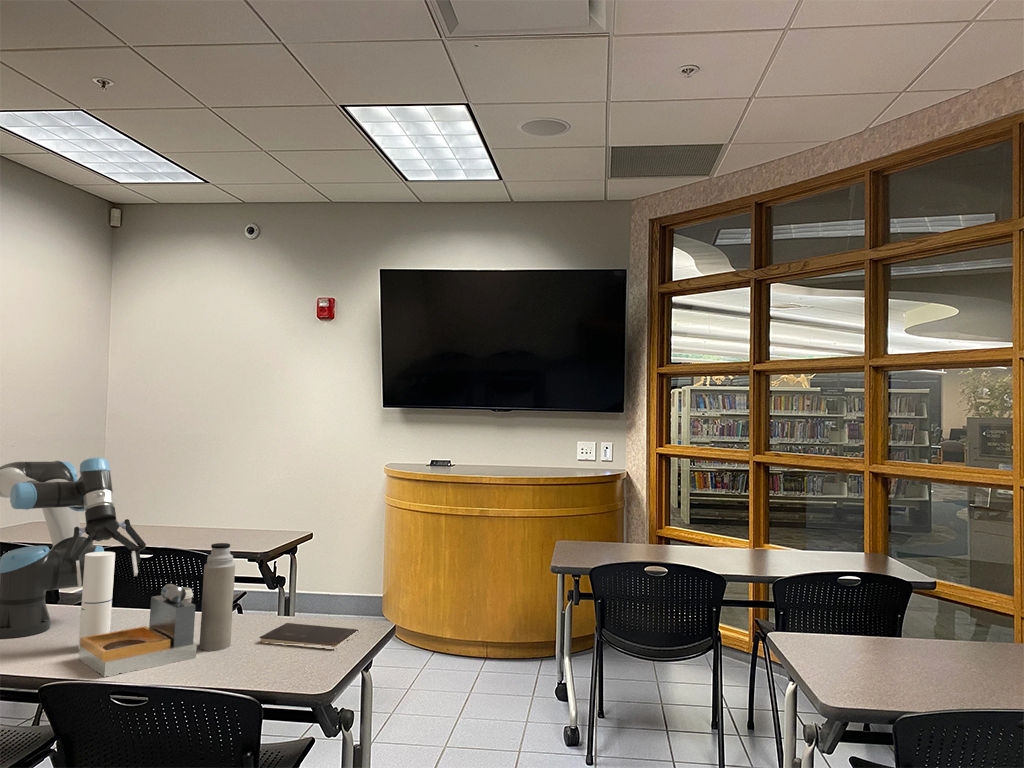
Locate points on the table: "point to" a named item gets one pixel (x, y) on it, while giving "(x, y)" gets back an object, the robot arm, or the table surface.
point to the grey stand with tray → (146, 638)
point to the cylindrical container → (97, 594)
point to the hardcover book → (307, 635)
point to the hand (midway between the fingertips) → (108, 579)
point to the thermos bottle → (217, 598)
